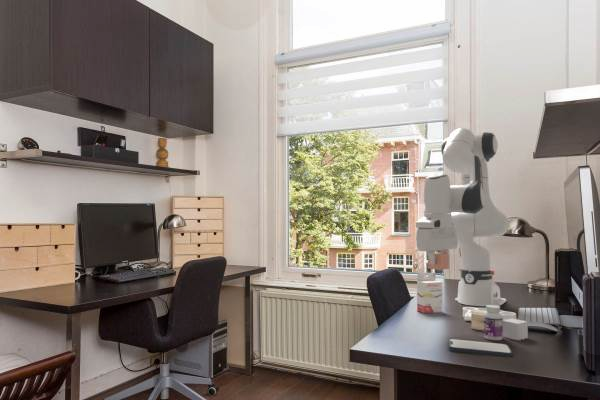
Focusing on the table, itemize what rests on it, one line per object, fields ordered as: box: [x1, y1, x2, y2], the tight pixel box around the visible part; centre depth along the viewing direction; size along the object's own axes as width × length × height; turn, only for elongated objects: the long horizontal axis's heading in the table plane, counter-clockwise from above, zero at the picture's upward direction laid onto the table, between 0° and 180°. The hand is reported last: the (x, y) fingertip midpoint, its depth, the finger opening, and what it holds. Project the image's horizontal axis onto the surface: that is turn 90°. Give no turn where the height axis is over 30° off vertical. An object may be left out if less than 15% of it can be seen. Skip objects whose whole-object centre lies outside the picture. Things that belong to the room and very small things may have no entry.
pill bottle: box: [483, 305, 504, 341], centre depth 132 cm, size 5×5×10 cm
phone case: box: [448, 338, 514, 357], centre depth 121 cm, size 9×2×16 cm
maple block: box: [470, 311, 485, 331], centre depth 144 cm, size 5×5×5 cm
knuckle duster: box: [462, 306, 517, 322], centre depth 155 cm, size 3×18×15 cm
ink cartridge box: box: [416, 272, 443, 314], centre depth 169 cm, size 9×5×15 cm, turn 108°
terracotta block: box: [427, 252, 450, 271], centre depth 146 cm, size 5×5×5 cm
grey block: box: [503, 318, 529, 341], centre depth 133 cm, size 5×5×5 cm
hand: (438, 263), depth 146 cm, fingers closed on terracotta block, 5 cm apart
